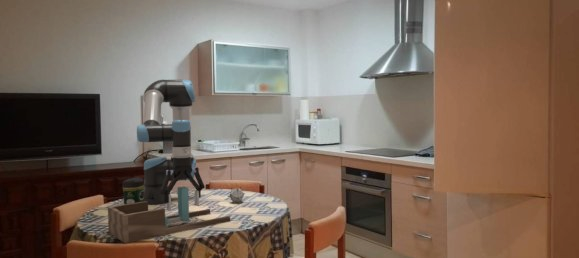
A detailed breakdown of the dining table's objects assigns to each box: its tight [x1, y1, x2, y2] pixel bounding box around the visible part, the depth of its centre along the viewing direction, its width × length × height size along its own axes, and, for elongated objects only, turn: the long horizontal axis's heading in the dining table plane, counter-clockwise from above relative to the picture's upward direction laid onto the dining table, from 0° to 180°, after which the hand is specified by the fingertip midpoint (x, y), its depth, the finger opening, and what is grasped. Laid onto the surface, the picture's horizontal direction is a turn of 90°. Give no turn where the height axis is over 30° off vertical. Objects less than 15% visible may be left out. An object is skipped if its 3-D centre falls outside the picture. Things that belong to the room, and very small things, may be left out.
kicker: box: [165, 186, 190, 228], centre depth 171 cm, size 14×14×15 cm
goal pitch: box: [107, 201, 231, 244], centre depth 171 cm, size 19×44×10 cm, turn 130°
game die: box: [227, 186, 246, 204], centre depth 215 cm, size 9×8×10 cm
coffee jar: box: [122, 176, 145, 205], centre depth 183 cm, size 10×8×19 cm
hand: (183, 208), depth 174 cm, fingers open, 12 cm apart
